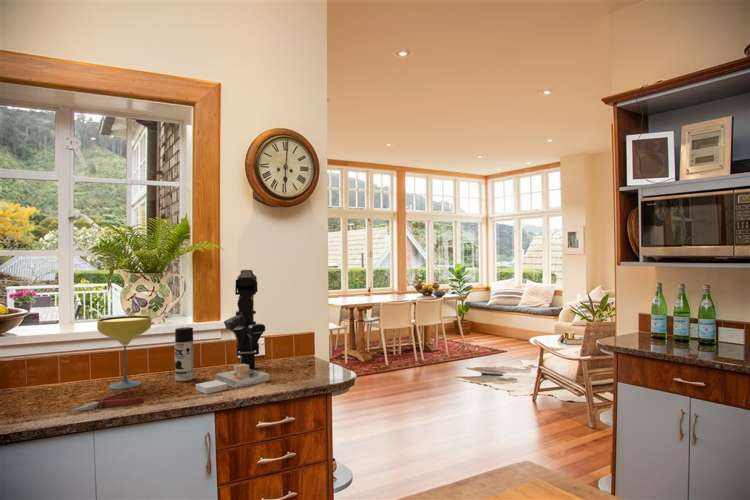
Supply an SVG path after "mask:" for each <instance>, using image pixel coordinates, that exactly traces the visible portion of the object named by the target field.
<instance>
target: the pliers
mask: <svg viewBox="0 0 750 500" xmlns="http://www.w3.org/2000/svg"><path fill="white" fill-rule="evenodd" d="M135 395H136V394H135V391H132V390H131V391H130V390H129V391H125V392H119V393H115V394H112V395H110V396H106V397H104V398H97V399H94V401H93V402H87V403H84V404H83V403H82V404H80V405H78V406H74V407H70V408H69V410H68V411H70V412H71V413H72V412H82V411H89V410H90V411H91V410H94V409H99V410H102V409H105V408H114V407H115V408H117V407H126V406H133V405H138V404H142V403H144V402H145V398H144V396H142V395H140V396H136V397H135Z"/></svg>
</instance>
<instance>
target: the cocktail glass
mask: <svg viewBox="0 0 750 500" xmlns="http://www.w3.org/2000/svg"><path fill="white" fill-rule="evenodd" d="M96 323H97V324H96V328H97V331H98V332H99V333H100V334H101V335H104V336H105V337H108V338H111V339H113V340H115V341H117V342H118V343H120V345H121V346H122V347H123V353H124V354H123V378H122V381H120V382H116V383H112V384H110V385H109V386H108V389H110V390H128V389H134V388H136V387H138V386H141V385H142V382H140V381H137V380H128V375H127V346H129V344H130V343H131V342H132V340H134V339H135V338H137V337H139V336H141V335H142V334H144V333H146V332H147V331H148V330H149V329H151V327H152V317H151V316H149V315H148V316H146V315H130V316H129V315H126V316H113V317H105V318H100V319H98V320H97V322H96Z"/></svg>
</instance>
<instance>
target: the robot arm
mask: <svg viewBox="0 0 750 500" xmlns="http://www.w3.org/2000/svg"><path fill="white" fill-rule="evenodd" d="M257 278H258V277H257V276H256V275H255V274H254V271H253V269H242V270H240V274H239V275H237V276H236V279H235V287H234V288H235V290H234V292H235V296H238V299H237V302H236V303H237V307H238V310H237V311H236V312H235V315H234V316H232V317H231V316H230V318H228V319H226V320H224V321H223V324H224V327H225V329H226V330H229V331H230V332H232V333H233V334H234V336H235V339H236V356H237V357H239V360H240V362H239V364H247V365H249V369H252V370H257V369H259V366H258V367H257V366H256V361H255V359H256V358H255V357H256V356H258V355H260V343H259V341H260V338H261V336H262V335H263V334H264V332H266V326H265V324H263V323H257V321H255V317H254V316H255V314H257V311H256V310H254V305H255V304H254V303H255V302H254V297H255V295H256V294H257V293H258V279H257Z"/></svg>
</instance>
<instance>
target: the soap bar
mask: <svg viewBox="0 0 750 500" xmlns="http://www.w3.org/2000/svg"><path fill="white" fill-rule="evenodd" d="M225 390H228V385H227V383H224V382H221V381H218V380H215V379H214V380H209V381H205V382H200V383H196V384H195V391H198V392H200V393H202V394H205V395H208V394H211V393H216V392H220V391H225Z"/></svg>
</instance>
